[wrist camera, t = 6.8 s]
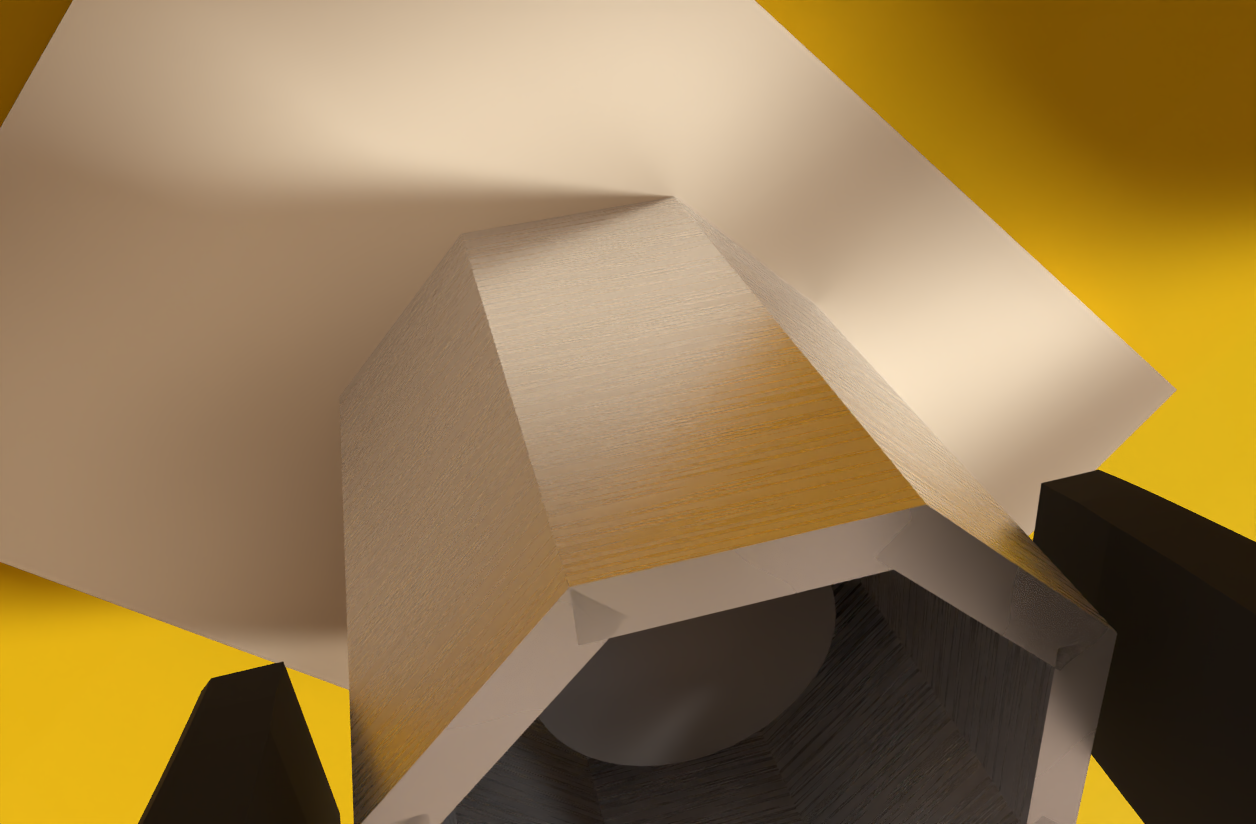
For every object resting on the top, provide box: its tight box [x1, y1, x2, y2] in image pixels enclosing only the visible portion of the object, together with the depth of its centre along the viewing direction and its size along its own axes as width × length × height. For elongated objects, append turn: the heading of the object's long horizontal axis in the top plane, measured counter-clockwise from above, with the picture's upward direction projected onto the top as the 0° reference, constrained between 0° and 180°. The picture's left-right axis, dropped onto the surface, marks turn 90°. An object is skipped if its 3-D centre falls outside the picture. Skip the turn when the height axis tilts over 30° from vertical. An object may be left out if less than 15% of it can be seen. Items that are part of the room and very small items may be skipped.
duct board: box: [0, 0, 1176, 766], centre depth 12 cm, size 14×10×5 cm
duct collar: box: [339, 196, 1117, 824], centre depth 11 cm, size 6×6×6 cm
